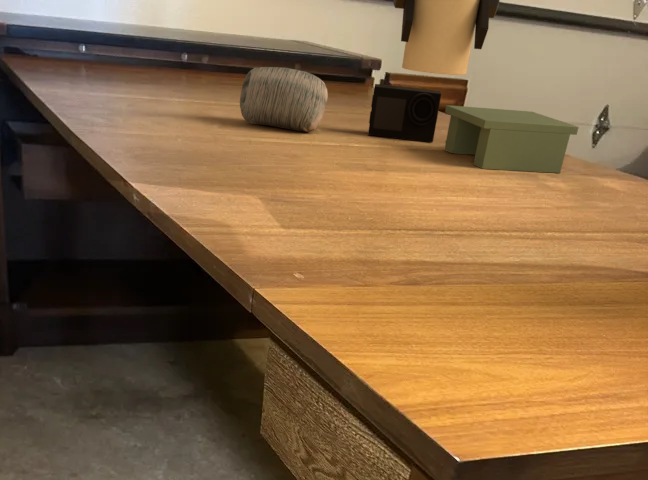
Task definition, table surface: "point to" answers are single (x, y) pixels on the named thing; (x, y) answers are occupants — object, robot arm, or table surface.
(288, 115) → the grey yarn skein
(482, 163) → the stand
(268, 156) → the table surface
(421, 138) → the digital camera
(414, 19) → the tan upright cylinder
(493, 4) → the robot arm
